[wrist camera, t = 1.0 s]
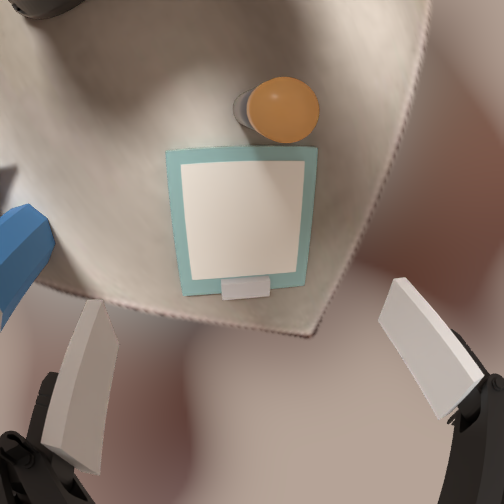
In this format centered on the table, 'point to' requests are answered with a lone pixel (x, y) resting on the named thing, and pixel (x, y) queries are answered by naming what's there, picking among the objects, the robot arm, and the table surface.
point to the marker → (279, 109)
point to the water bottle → (21, 254)
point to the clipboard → (241, 217)
